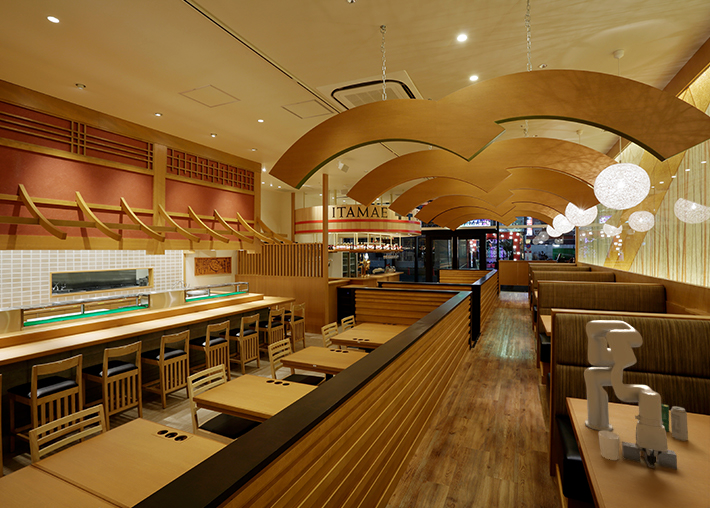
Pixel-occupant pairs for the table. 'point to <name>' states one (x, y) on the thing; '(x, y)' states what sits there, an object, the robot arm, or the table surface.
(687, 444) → the table surface
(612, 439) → the white cup
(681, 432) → the energy drink can
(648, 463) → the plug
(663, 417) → the coffee box
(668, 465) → the grey long block
